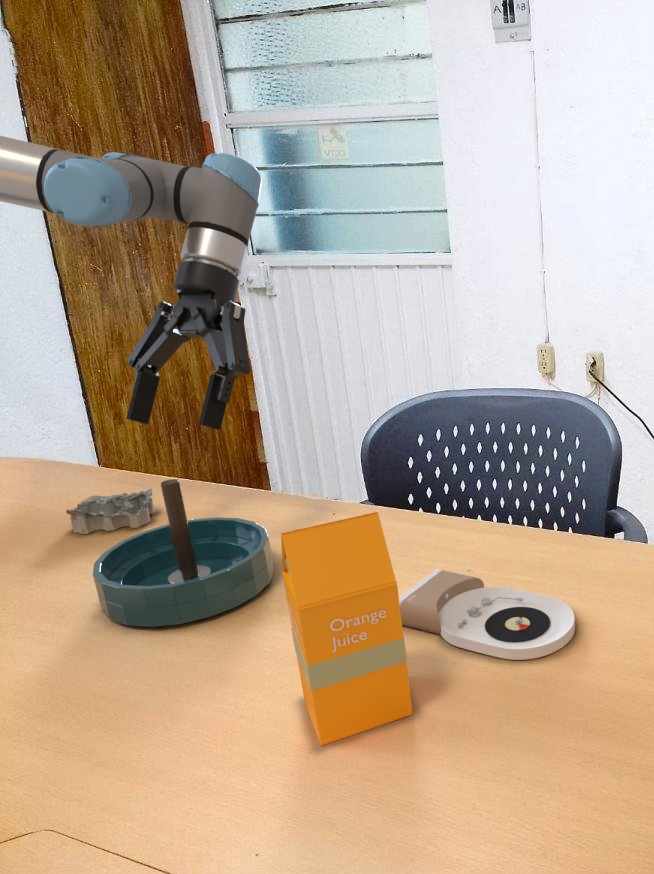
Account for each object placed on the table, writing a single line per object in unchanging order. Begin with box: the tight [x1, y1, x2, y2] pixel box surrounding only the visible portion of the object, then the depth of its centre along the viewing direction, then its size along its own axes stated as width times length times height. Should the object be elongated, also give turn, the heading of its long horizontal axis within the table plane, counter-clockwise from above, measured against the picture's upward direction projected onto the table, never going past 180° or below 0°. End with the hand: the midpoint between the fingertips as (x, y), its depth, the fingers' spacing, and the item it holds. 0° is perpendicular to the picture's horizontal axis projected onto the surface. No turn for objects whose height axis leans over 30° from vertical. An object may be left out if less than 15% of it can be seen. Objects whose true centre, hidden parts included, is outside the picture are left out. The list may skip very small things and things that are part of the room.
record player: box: [399, 568, 576, 661], centre depth 95 cm, size 12×3×20 cm
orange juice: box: [280, 511, 414, 746], centre depth 78 cm, size 8×9×20 cm
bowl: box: [92, 516, 275, 628], centre depth 104 cm, size 20×20×6 cm
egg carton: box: [65, 488, 156, 535], centre depth 124 cm, size 11×8×4 cm
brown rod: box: [160, 478, 212, 584], centre depth 102 cm, size 5×5×14 cm
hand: (172, 424), depth 107 cm, fingers open, 13 cm apart
